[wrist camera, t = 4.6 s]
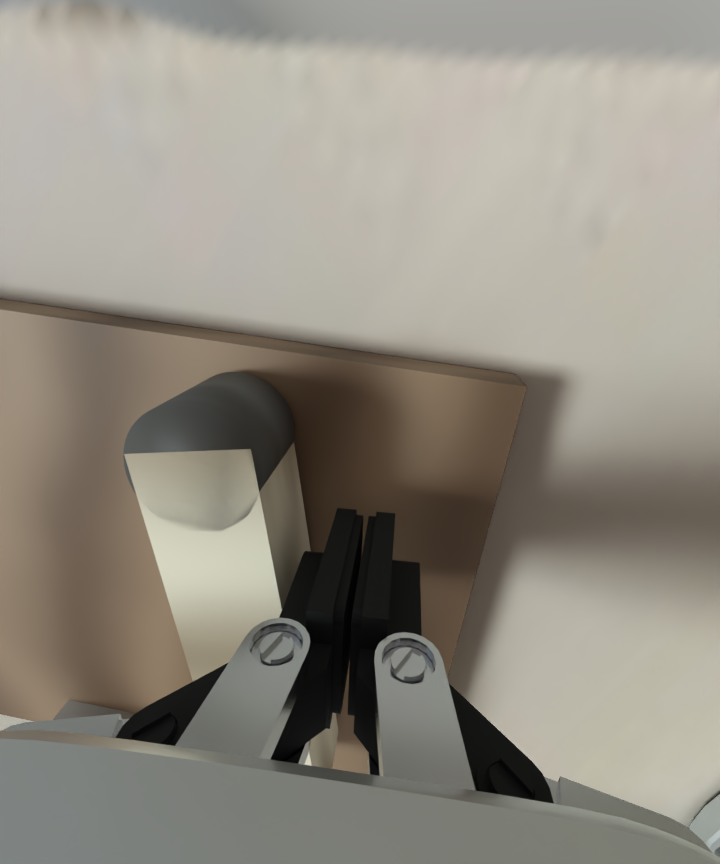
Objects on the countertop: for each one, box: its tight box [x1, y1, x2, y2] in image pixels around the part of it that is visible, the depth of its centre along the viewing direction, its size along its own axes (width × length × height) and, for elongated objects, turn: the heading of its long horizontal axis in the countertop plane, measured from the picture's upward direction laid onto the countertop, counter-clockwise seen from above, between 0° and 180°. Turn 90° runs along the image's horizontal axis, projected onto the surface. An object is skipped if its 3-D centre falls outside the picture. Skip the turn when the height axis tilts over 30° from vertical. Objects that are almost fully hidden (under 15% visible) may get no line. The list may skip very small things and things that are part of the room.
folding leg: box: [123, 372, 338, 769], centre depth 13 cm, size 15×3×3 cm, turn 5°
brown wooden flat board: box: [0, 299, 527, 774], centre depth 15 cm, size 26×18×4 cm
